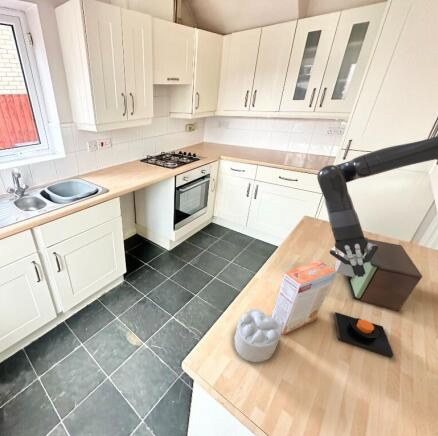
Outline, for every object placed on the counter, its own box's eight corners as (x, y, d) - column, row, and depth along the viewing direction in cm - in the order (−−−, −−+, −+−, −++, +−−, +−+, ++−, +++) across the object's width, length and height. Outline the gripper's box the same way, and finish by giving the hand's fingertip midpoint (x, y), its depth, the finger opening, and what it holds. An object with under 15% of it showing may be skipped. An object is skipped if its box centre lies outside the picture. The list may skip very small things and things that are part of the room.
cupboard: (381, 279, 94) (401, 244, 86) (397, 313, 80) (423, 275, 72) (343, 269, 99) (359, 236, 91) (352, 300, 85) (372, 263, 77)
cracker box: (299, 307, 83) (318, 258, 73) (315, 321, 78) (339, 271, 68) (267, 320, 78) (283, 270, 68) (282, 336, 73) (302, 285, 63)
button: (369, 326, 72) (372, 322, 71) (373, 335, 69) (375, 331, 68) (354, 321, 73) (357, 317, 73) (357, 330, 71) (359, 326, 70)
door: (352, 276, 93) (367, 247, 87) (359, 298, 84) (377, 267, 77) (332, 271, 96) (345, 243, 89) (336, 292, 87) (351, 261, 80)
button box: (379, 331, 74) (385, 322, 72) (390, 359, 67) (396, 350, 65) (332, 316, 79) (337, 307, 77) (337, 341, 72) (342, 332, 70)
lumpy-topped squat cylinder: (280, 342, 72) (288, 322, 68) (260, 373, 64) (267, 353, 60) (247, 320, 79) (252, 301, 74) (225, 346, 71) (229, 326, 67)
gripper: (320, 229, 80) (336, 281, 79) (373, 220, 73) (391, 277, 71) (320, 227, 86) (334, 275, 85) (369, 218, 79) (385, 271, 77)
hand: (360, 276), depth 78 cm, fingers closed
